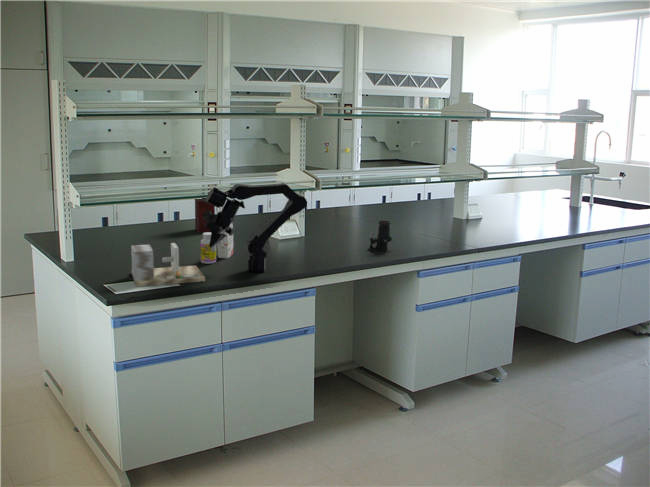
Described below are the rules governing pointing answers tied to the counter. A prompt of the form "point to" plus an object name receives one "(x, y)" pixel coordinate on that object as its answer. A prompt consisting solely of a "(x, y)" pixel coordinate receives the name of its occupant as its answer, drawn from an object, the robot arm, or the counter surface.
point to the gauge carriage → (173, 259)
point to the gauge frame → (158, 270)
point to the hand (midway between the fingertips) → (210, 247)
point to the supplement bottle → (207, 250)
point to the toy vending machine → (199, 211)
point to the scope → (381, 237)
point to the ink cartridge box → (226, 245)
